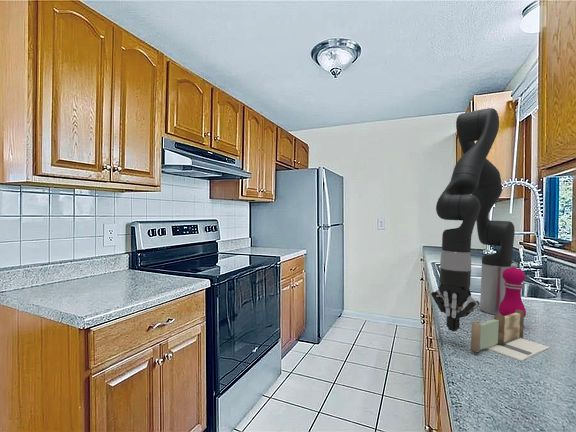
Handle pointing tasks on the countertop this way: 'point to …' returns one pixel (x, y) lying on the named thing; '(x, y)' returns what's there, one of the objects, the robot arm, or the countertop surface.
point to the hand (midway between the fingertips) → (452, 330)
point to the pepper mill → (512, 291)
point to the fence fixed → (510, 326)
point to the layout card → (518, 348)
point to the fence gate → (484, 334)
